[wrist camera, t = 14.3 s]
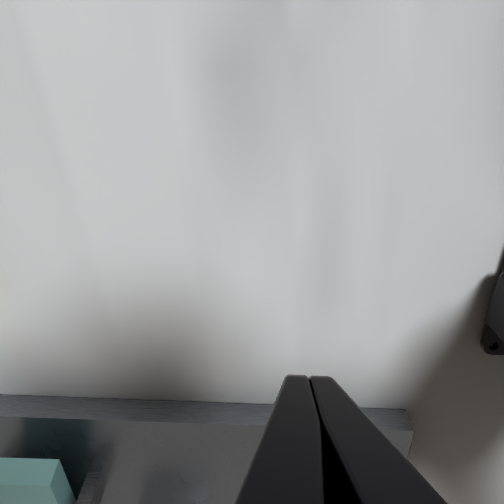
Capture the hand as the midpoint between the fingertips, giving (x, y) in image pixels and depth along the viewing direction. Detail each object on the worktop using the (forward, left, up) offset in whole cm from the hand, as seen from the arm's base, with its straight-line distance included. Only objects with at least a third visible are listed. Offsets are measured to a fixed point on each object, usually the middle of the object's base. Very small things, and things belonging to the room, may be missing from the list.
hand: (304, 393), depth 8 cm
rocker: (+11, +16, -9) cm, 21 cm away
